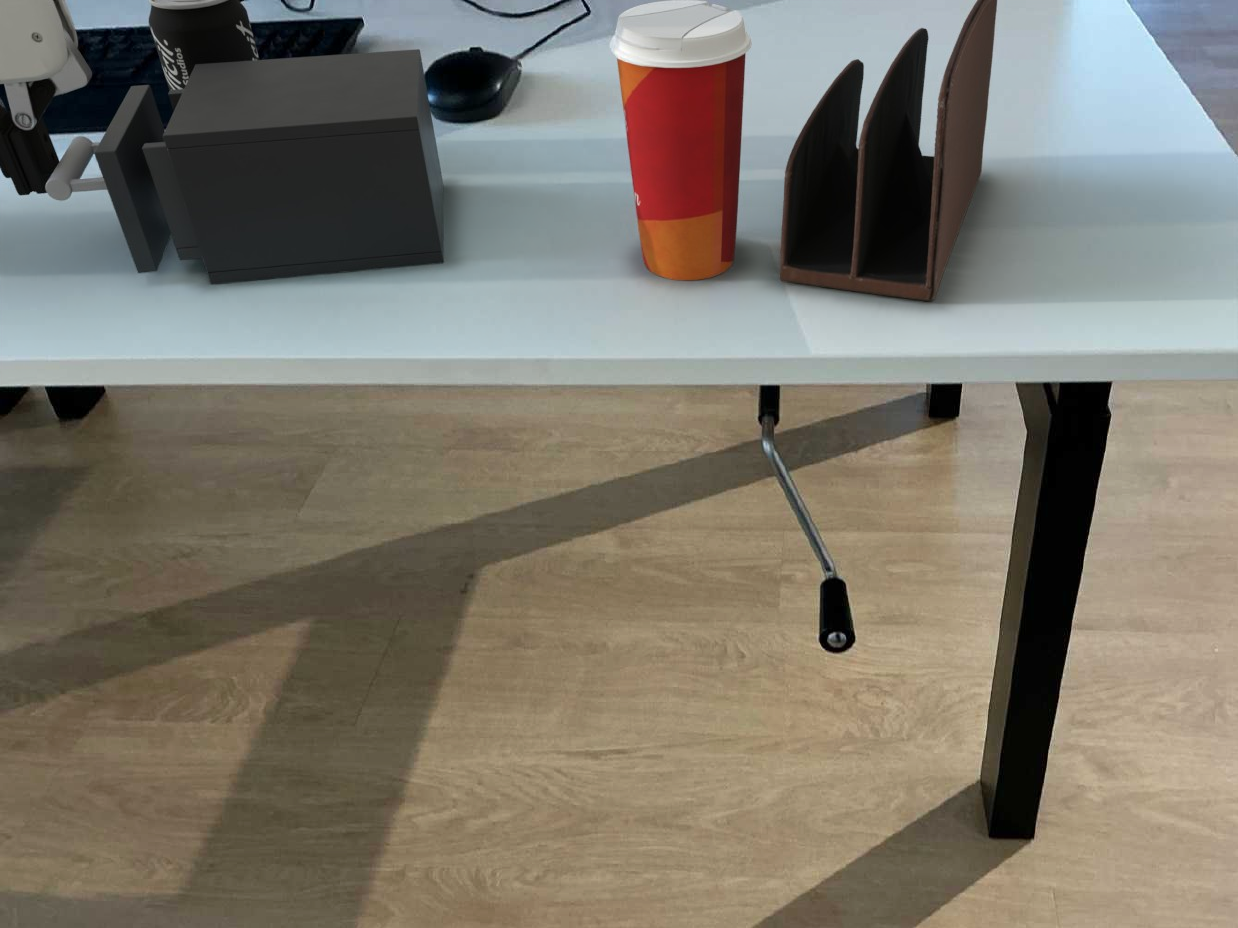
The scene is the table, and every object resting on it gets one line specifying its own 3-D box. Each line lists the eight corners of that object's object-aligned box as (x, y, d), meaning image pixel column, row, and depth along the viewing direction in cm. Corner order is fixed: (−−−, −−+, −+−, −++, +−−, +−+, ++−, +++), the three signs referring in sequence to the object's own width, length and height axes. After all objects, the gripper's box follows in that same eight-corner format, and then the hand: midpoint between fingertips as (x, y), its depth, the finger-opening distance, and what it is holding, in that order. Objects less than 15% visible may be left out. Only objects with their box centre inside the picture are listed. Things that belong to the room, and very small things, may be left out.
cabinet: (210, 284, 76) (162, 135, 70) (235, 201, 86) (195, 64, 79) (443, 263, 78) (417, 116, 72) (443, 184, 88) (419, 48, 81)
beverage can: (268, 178, 89) (222, 6, 81) (180, 178, 89) (125, 7, 81) (294, 143, 94) (253, -21, 86) (211, 143, 94) (162, -21, 86)
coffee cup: (692, 220, 83) (684, -12, 73) (777, 258, 78) (781, 17, 69) (598, 259, 78) (576, 18, 69) (683, 303, 74) (672, 51, 64)
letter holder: (981, 177, 88) (1007, -30, 79) (933, 305, 73) (960, 70, 64) (847, 162, 90) (858, -41, 81) (776, 284, 76) (780, 53, 66)
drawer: (67, 280, 75) (17, 158, 70) (105, 203, 83) (63, 90, 78) (357, 253, 77) (329, 134, 72) (365, 182, 86) (341, 71, 81)
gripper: (-280, -118, 61) (-107, 222, 73) (32, -135, 63) (150, 199, 75) (-218, -147, 66) (-68, 173, 78) (67, -162, 68) (171, 153, 80)
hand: (38, 185), depth 76 cm, fingers closed
